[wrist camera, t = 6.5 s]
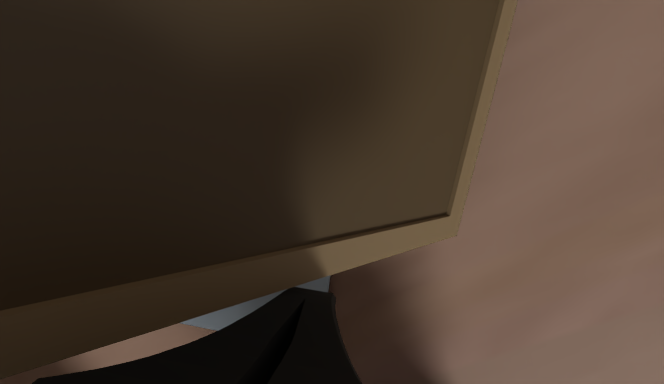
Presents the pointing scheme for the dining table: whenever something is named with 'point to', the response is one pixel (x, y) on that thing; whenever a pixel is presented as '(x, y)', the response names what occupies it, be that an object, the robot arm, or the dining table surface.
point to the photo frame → (223, 152)
